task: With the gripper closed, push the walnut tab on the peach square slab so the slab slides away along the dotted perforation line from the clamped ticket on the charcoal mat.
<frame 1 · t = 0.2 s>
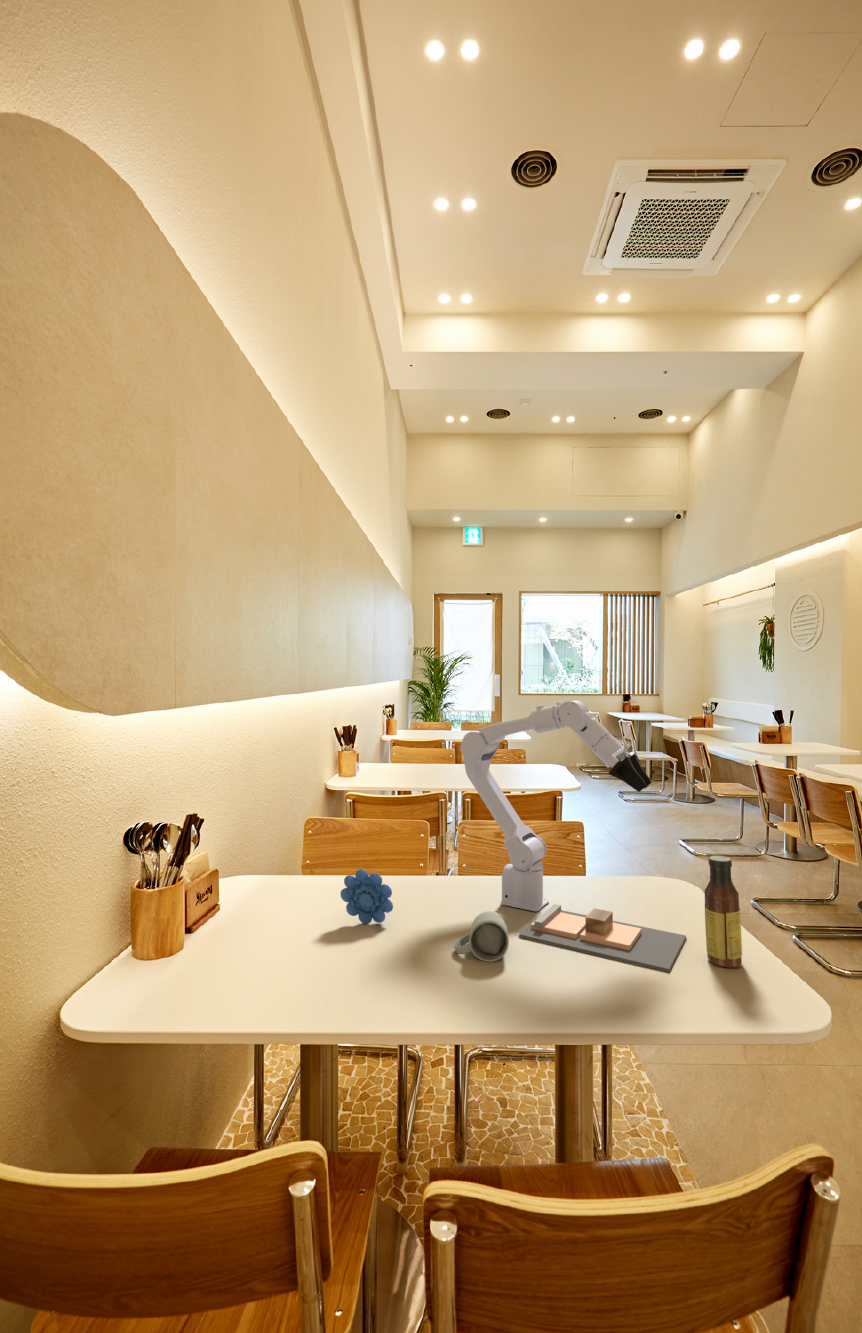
hand: (645, 787, 138), 31 cm above the table, tool tilted 45°, fingers open, 7 cm apart
ceramic mug: (482, 954, 124), on the table
mat: (602, 937, 132), on the table
ticket: (561, 928, 137), resting on mat
peach square slab: (611, 926, 131), point 3 cm above the table, slide at 0.0 cm
sauce bottle: (723, 963, 121), on the table
blue flower rosette: (366, 926, 138), on the table
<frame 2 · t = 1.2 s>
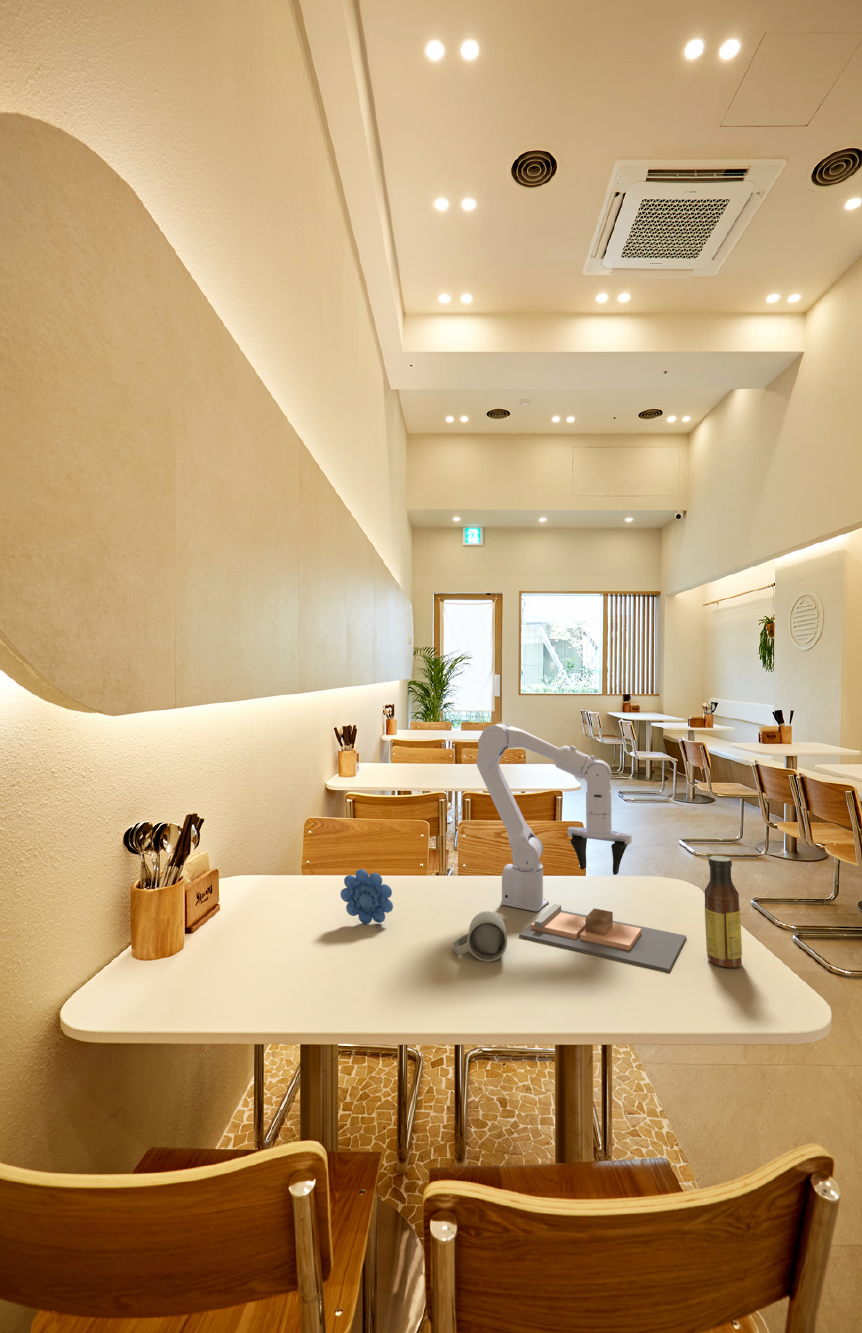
hand: (599, 871, 147), 10 cm above the table, tool pointing down, fingers open, 7 cm apart
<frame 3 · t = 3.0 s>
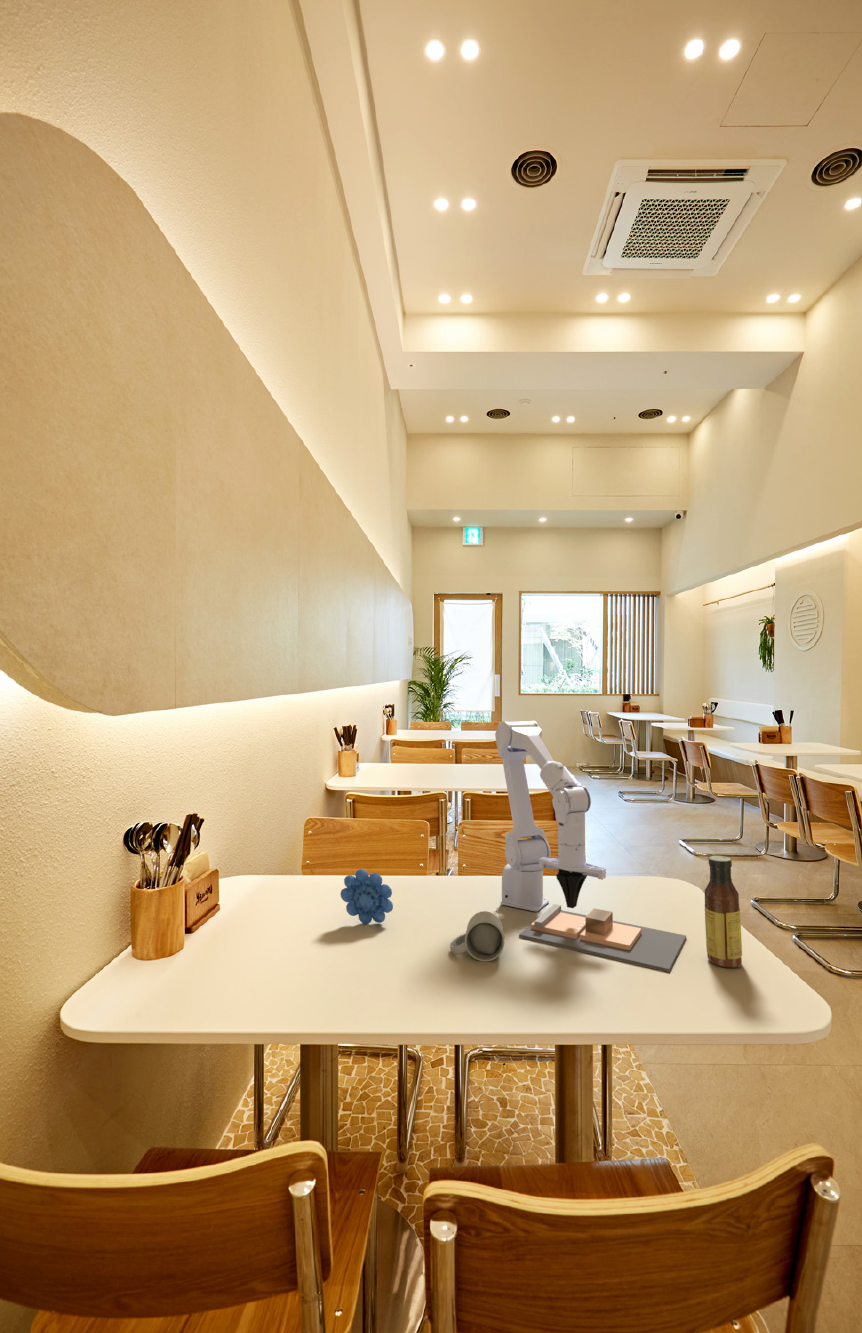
hand: (571, 906, 135), 5 cm above the table, tool pointing down, fingers closed
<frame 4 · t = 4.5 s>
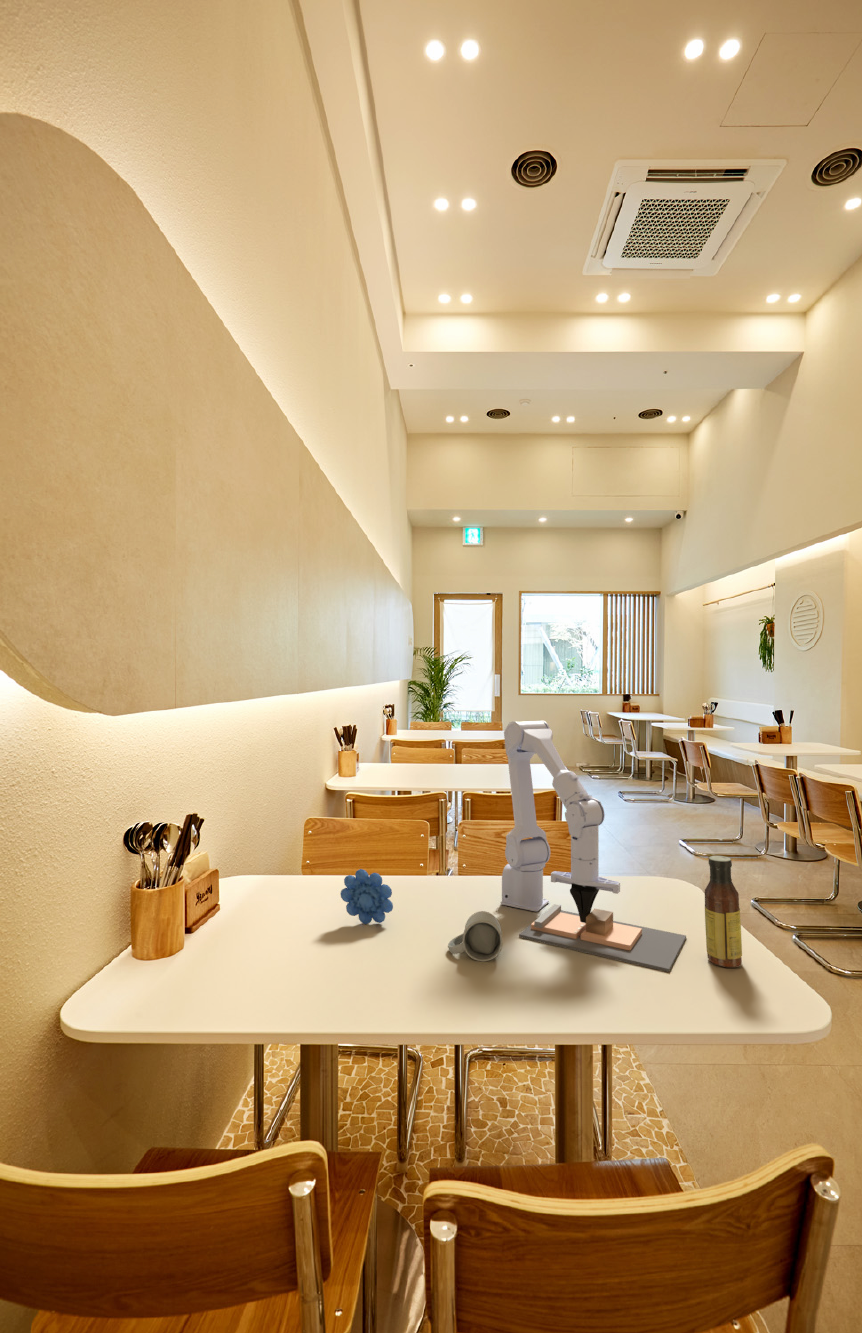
hand: (584, 921, 134), 3 cm above the table, tool pointing down, fingers closed
peach square slab: (611, 926, 131), point 3 cm above the table, slide at 0.1 cm, touching gripper
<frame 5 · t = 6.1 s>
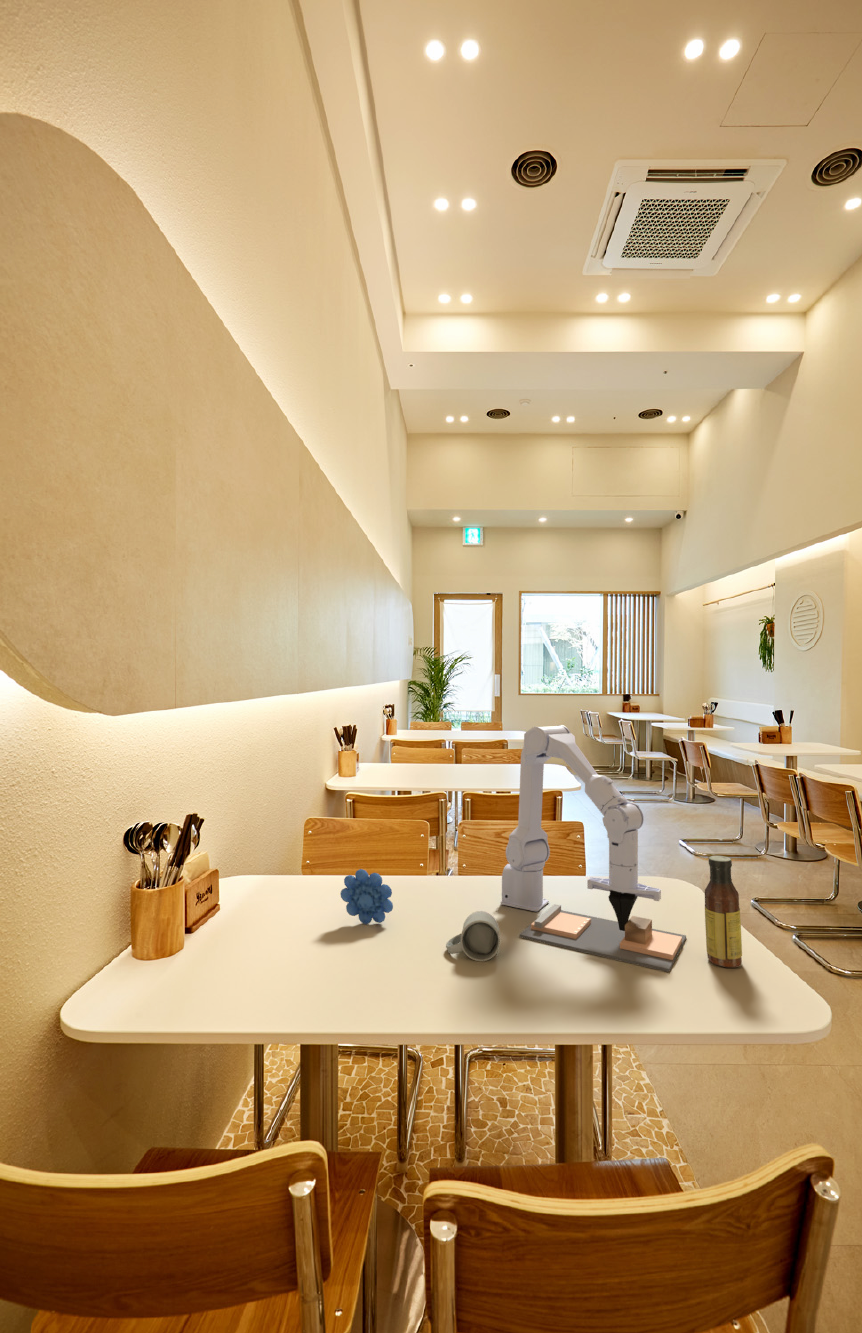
hand: (623, 929, 130), 3 cm above the table, tool pointing down, fingers closed
peach square slab: (651, 934, 127), point 3 cm above the table, slide at 8.1 cm, touching gripper
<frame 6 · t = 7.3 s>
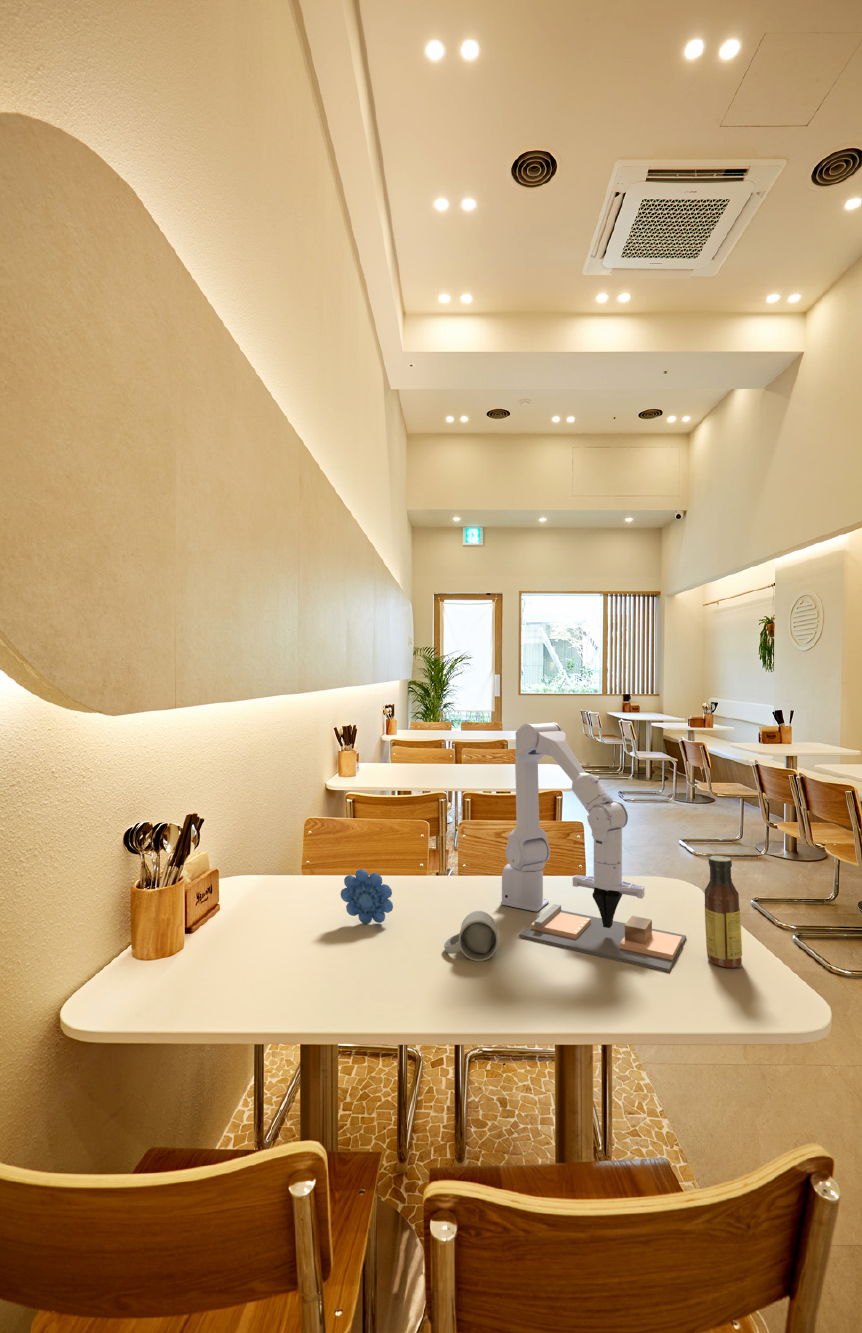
hand: (607, 926, 131), 3 cm above the table, tool pointing down, fingers closed
peach square slab: (651, 934, 127), point 3 cm above the table, slide at 8.1 cm
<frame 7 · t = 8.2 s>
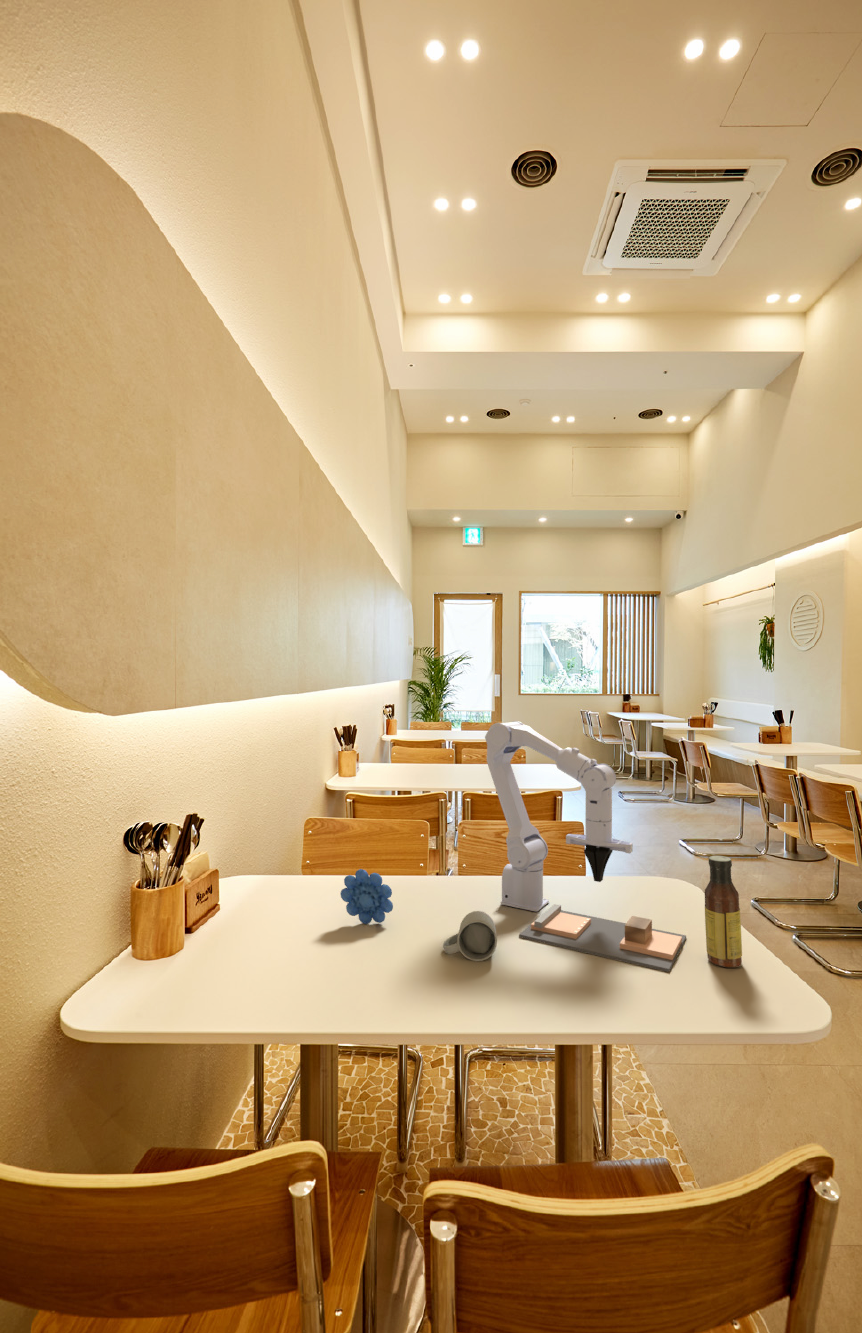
hand: (598, 880, 140), 9 cm above the table, tool pointing down, fingers closed
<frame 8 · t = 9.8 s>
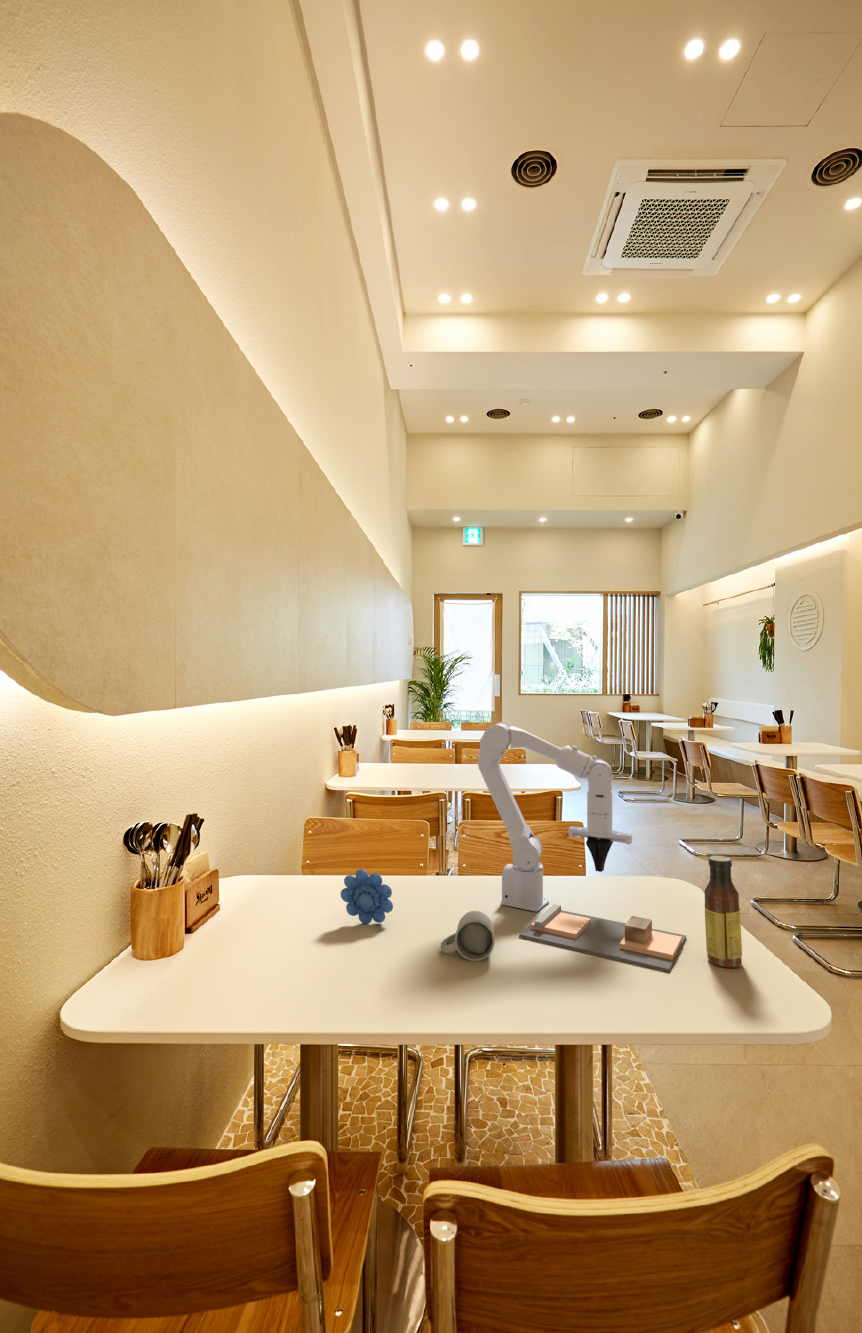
hand: (599, 870, 147), 9 cm above the table, tool pointing down, fingers closed
at the end: peach square slab slide at 8.1 cm; the gripper is holding nothing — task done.
